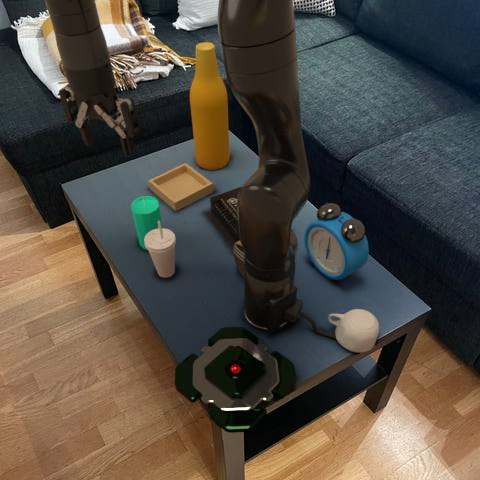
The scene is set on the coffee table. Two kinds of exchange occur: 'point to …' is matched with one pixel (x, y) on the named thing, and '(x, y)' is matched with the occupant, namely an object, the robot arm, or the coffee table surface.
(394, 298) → the coffee table surface
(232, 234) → the black electronic device
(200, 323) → the coffee table surface
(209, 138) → the beer bottle
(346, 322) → the teacup
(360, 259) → the alarm clock
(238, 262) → the doughnut
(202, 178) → the tray
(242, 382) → the four-lobed dark green device
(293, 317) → the robot arm
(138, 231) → the candle
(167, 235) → the smoothie
